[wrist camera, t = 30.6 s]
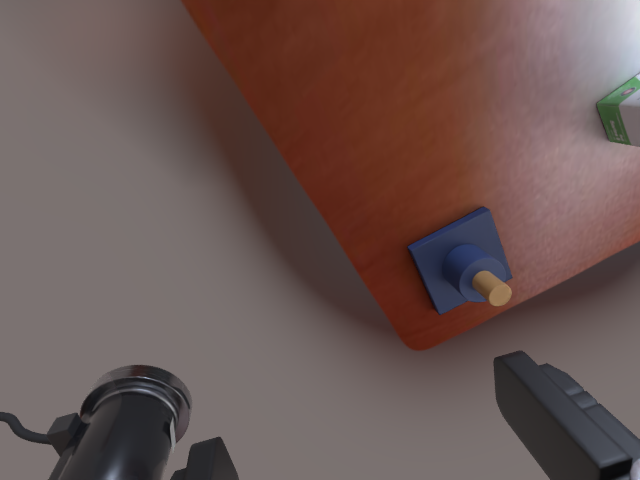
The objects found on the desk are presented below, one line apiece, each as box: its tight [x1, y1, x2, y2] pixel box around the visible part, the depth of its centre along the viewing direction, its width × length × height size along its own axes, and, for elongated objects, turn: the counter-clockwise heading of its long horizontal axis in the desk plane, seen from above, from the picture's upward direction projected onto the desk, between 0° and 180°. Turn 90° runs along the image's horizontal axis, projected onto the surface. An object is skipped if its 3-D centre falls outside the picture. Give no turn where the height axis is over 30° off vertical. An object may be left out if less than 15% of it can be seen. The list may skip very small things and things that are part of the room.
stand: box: [407, 207, 512, 315], centre depth 39 cm, size 9×9×8 cm
